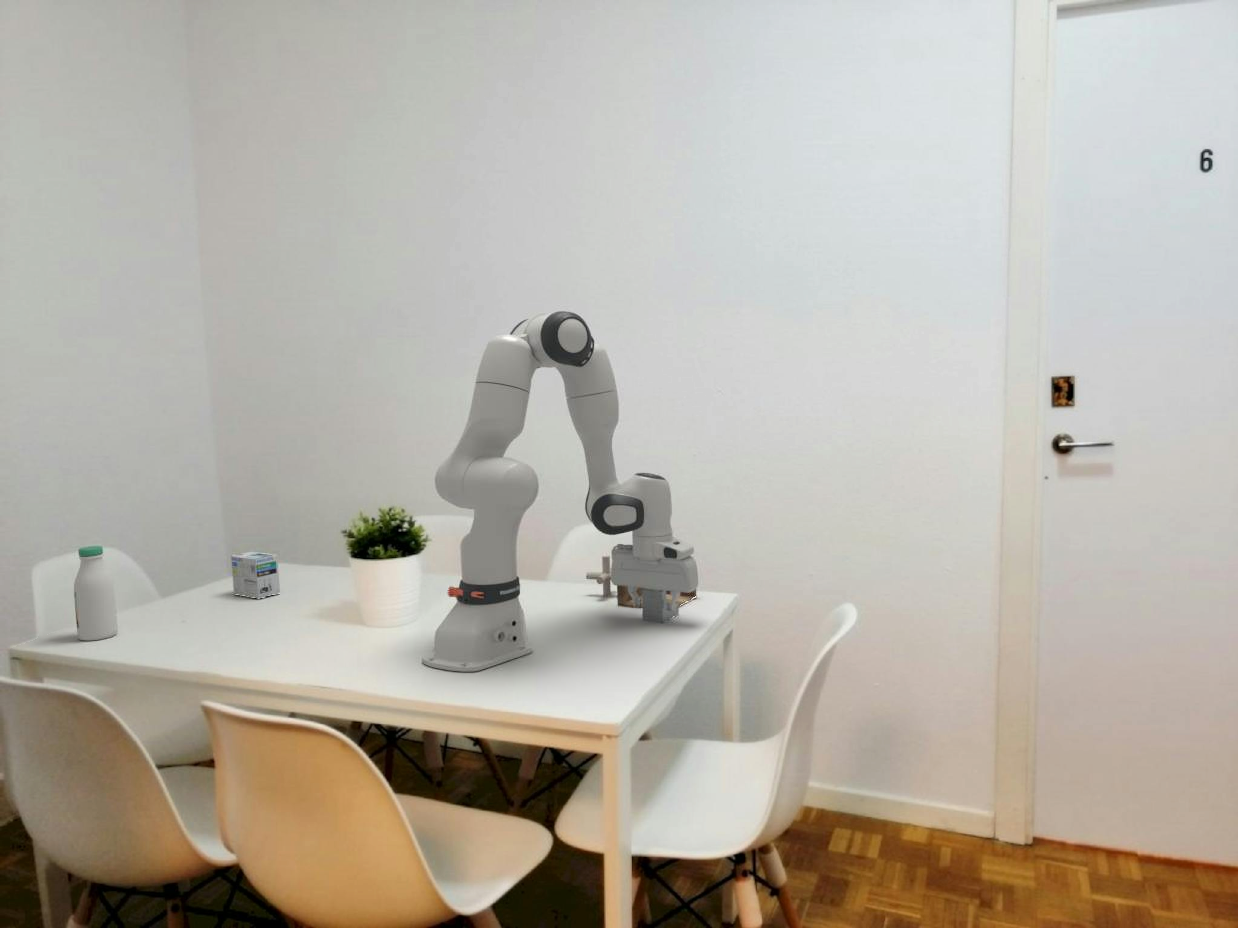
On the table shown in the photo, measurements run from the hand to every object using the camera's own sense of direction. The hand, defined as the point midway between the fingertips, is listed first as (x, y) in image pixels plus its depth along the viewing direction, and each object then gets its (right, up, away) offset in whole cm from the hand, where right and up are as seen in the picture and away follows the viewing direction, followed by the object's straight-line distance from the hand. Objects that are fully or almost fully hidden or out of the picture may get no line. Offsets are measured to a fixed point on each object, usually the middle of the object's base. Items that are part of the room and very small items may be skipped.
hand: (654, 608), depth 200 cm
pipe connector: (-11, -1, +23) cm, 26 cm away
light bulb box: (-102, -3, +35) cm, 108 cm away
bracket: (+2, -3, +3) cm, 4 cm away
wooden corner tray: (+1, -1, +16) cm, 17 cm away
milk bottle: (-123, -7, 0) cm, 123 cm away
